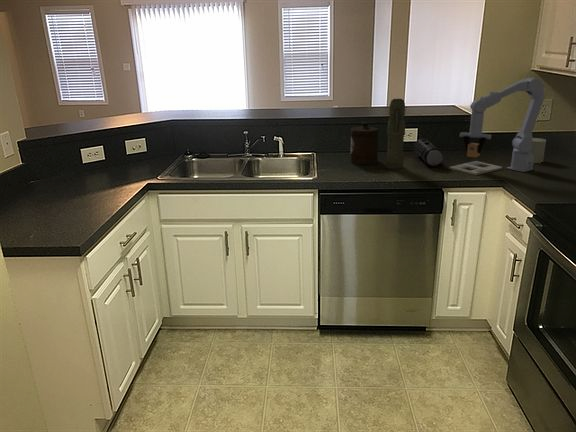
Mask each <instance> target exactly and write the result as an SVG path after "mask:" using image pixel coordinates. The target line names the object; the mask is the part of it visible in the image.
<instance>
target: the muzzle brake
mask: <svg viewBox="0 0 576 432" xmlns="http://www.w3.org/2000/svg"><path fill="white" fill-rule="evenodd" d="M413 149H414V152H415V153H416V154H417V155H419V157H420V158H421V159H422V160H423V161H424V163H425V164H427V165H428V166H431V167H435V166H438V165H439V164H441V162H442V161H443V158H444V154H443V152H442V150H441V149H440V148H438V147H437V146H435V145H434V144H432V143H431V142H430V141H429V140H427V139H426V138H419V139H417V140H416V141H415V143H414V145H413Z"/></svg>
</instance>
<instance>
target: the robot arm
mask: <svg viewBox="0 0 576 432" xmlns="http://www.w3.org/2000/svg"><path fill="white" fill-rule="evenodd" d="M544 86H545V85H544V82H542V80H541V79H539V78H533V77H531V76H530V77H528V76H527V77H525V78H523V79H520V80H518V81H516V82H515V83H513V84H512V83H511V85H508V86H507V87H505V88H503V89H502V90H500V91H496V90H495V91H493V90H492V91H489V94H487V95H484V96H480V97H479V99H474V100H473V101H472V102H471V103H470V105H469V107H470V110H471V115H470V125H469V132H464V131H463V132H460V133H459V137H460V138H462V137H463V138H462V140H463V142H464V145H465V150H466V153H467V149H468V144H470V143H471V138H474V139H479V141H478V144H479V150H478V153H480V154H481V153H482V149H483V147H484V145H485V143H486V141H487V140H491V139H492V134H488V133H487V134H486V133H483V127H484V126H483V125H484V115H485V112H486V111H487V109H488V108H491V107H493V106H495V105H496V104H499V103H500V102H501V101H502V99H504V98H505V97H507V96H510V95H513V94H515V93H516V92H526V93H527V94H528V96H529V98H530V102H529V105H528V107H527V111H526V114H525V116H524V119H523V123H522V124H521V125H522V126H521V127H520V130H519V131H518V132H517V133H516V136H515V137H514V138H513V139H512V141H511V145H512V148H513V149H512V154H511V155H512V156H511V162H510V166H507V167H506V169H509V170H513V171H516V172H517V171H518V172H520V173H521V172H522V173H527V172H529V171H533V170H534V169H533V167H534V163H533V161H534V155H533V154H531V153H529V151H530V150H531V148H532V140H533V138H534V137H533V131H534V129H535V126H536V123H537V120H538V117H539V115H540V111H541V109H542V107H543V106H542V105H543V103H544V100H545V98H546V96H545V94H546V93H545V89H544Z"/></svg>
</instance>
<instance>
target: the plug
mask: <svg viewBox="0 0 576 432" xmlns="http://www.w3.org/2000/svg"><path fill="white" fill-rule="evenodd" d="M478 150H479V143H477V142H476V143H475V142H470V144H468V149H467V152H466V157H471V158H478V157H480V154H481V152H480V153H478Z"/></svg>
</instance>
